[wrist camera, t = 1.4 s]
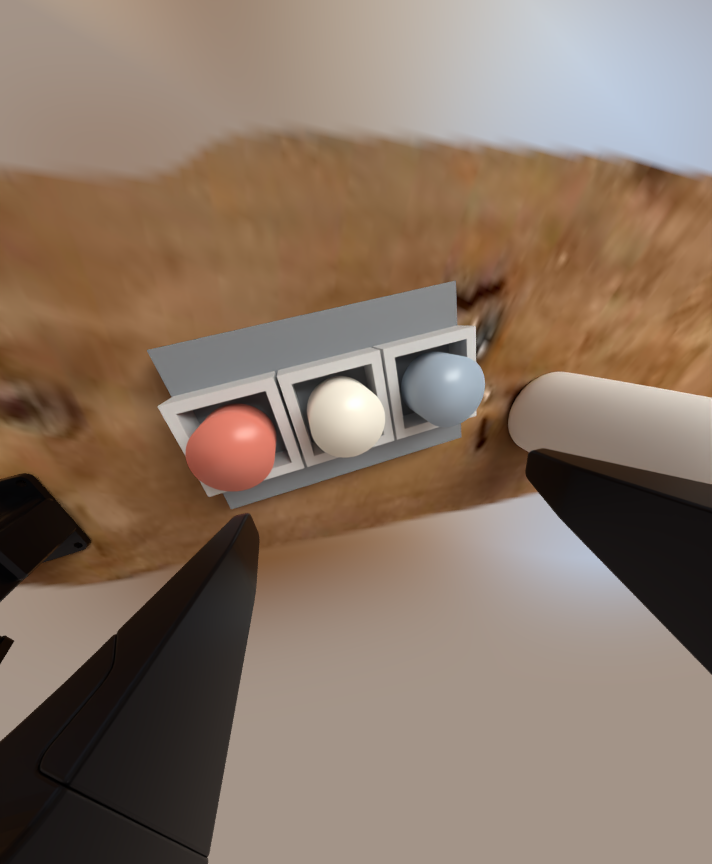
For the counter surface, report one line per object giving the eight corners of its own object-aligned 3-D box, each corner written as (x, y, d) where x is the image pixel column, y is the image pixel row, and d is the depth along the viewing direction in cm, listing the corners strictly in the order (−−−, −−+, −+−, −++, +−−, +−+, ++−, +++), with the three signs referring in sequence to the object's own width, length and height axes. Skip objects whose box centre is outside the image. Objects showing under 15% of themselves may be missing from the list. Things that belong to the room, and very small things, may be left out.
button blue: (405, 420, 17) (422, 435, 15) (396, 360, 15) (415, 366, 13) (459, 404, 18) (484, 416, 15) (457, 344, 16) (485, 347, 14)
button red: (219, 475, 16) (208, 501, 13) (188, 414, 14) (168, 432, 12) (285, 456, 16) (285, 477, 14) (262, 395, 14) (258, 408, 12)
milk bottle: (495, 449, 25) (1000, 755, 7) (518, 369, 22) (1429, 547, 5) (557, 446, 27) (1081, 683, 9) (586, 371, 24) (1425, 503, 6)
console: (237, 489, 21) (224, 529, 16) (166, 346, 16) (125, 354, 12) (444, 426, 23) (477, 448, 19) (435, 286, 18) (476, 275, 14)
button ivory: (316, 447, 16) (321, 466, 14) (298, 385, 15) (299, 397, 12) (376, 429, 17) (390, 445, 15) (365, 368, 15) (378, 376, 13)
